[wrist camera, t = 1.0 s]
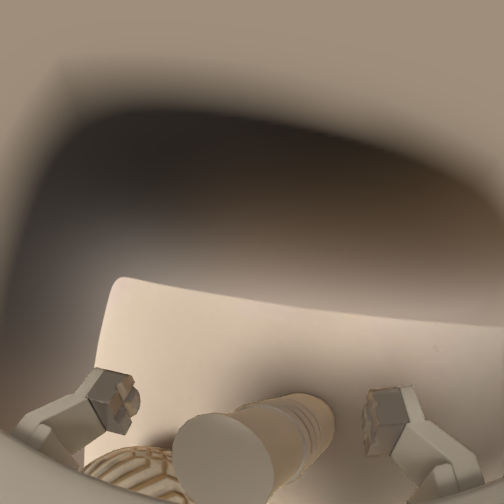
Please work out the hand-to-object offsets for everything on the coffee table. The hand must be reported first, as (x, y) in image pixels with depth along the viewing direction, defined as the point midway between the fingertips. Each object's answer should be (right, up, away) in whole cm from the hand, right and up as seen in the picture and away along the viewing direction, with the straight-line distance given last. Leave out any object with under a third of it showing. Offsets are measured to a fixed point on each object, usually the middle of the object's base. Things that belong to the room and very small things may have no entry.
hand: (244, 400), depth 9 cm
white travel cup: (+5, -12, +17) cm, 21 cm away
